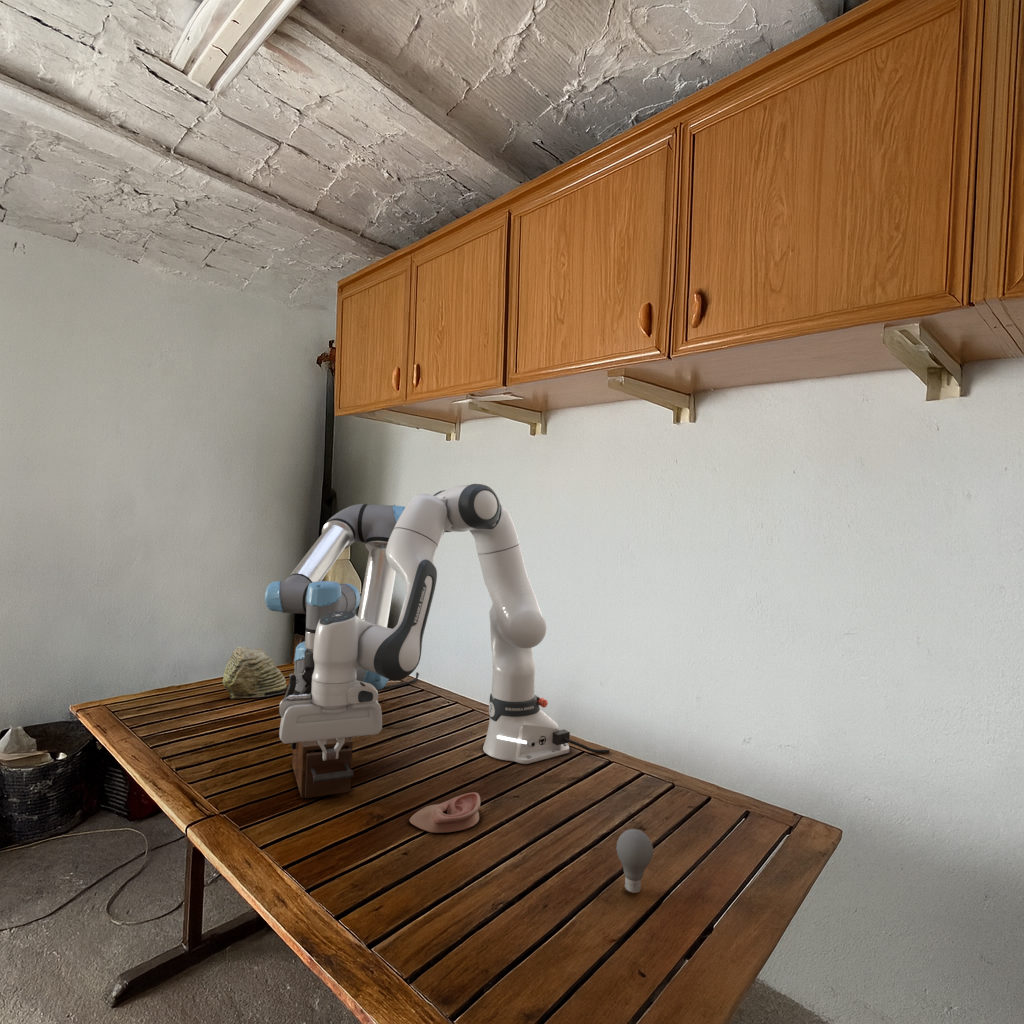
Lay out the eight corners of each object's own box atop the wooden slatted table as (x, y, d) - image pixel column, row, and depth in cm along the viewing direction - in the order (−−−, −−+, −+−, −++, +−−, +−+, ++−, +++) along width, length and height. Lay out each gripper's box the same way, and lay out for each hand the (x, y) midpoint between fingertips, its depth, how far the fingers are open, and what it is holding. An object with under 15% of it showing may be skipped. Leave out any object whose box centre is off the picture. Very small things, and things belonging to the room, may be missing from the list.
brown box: (350, 791, 137) (352, 741, 137) (301, 798, 133) (303, 747, 132) (336, 758, 153) (338, 713, 153) (291, 764, 149) (293, 718, 149)
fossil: (218, 695, 195) (220, 647, 195) (278, 685, 208) (279, 640, 207) (228, 703, 189) (230, 653, 188) (289, 692, 201) (290, 645, 201)
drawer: (355, 804, 129) (357, 760, 129) (309, 811, 125) (311, 766, 125) (336, 760, 150) (338, 723, 150) (296, 766, 146) (297, 727, 146)
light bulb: (610, 879, 108) (613, 822, 108) (644, 879, 109) (647, 822, 109) (619, 902, 102) (622, 840, 102) (655, 901, 103) (658, 840, 103)
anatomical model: (404, 808, 122) (424, 782, 133) (403, 828, 122) (423, 801, 133) (470, 818, 119) (485, 791, 131) (469, 838, 119) (484, 810, 131)
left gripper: (270, 656, 138) (266, 756, 139) (374, 649, 148) (370, 744, 148) (268, 648, 145) (264, 744, 145) (367, 642, 155) (364, 732, 155)
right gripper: (281, 700, 122) (277, 771, 123) (386, 692, 131) (382, 759, 131) (278, 691, 128) (275, 758, 128) (379, 684, 137) (375, 747, 137)
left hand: (318, 744), depth 147 cm, fingers closed on brown box, 10 cm apart
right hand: (330, 758), depth 130 cm, fingers closed
